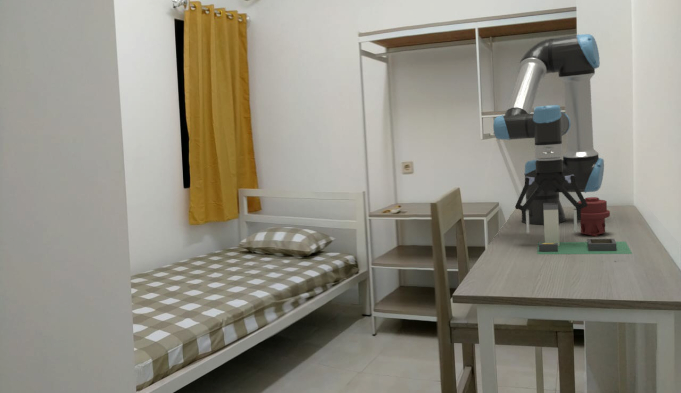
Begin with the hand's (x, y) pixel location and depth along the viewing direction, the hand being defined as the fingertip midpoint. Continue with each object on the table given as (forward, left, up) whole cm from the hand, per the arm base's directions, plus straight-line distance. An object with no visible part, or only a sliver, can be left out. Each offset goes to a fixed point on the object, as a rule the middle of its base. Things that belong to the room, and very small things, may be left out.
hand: (551, 232), depth 181 cm
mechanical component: (-15, +12, -5) cm, 20 cm away
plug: (0, 0, -4) cm, 4 cm away
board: (+5, +8, -5) cm, 11 cm away
